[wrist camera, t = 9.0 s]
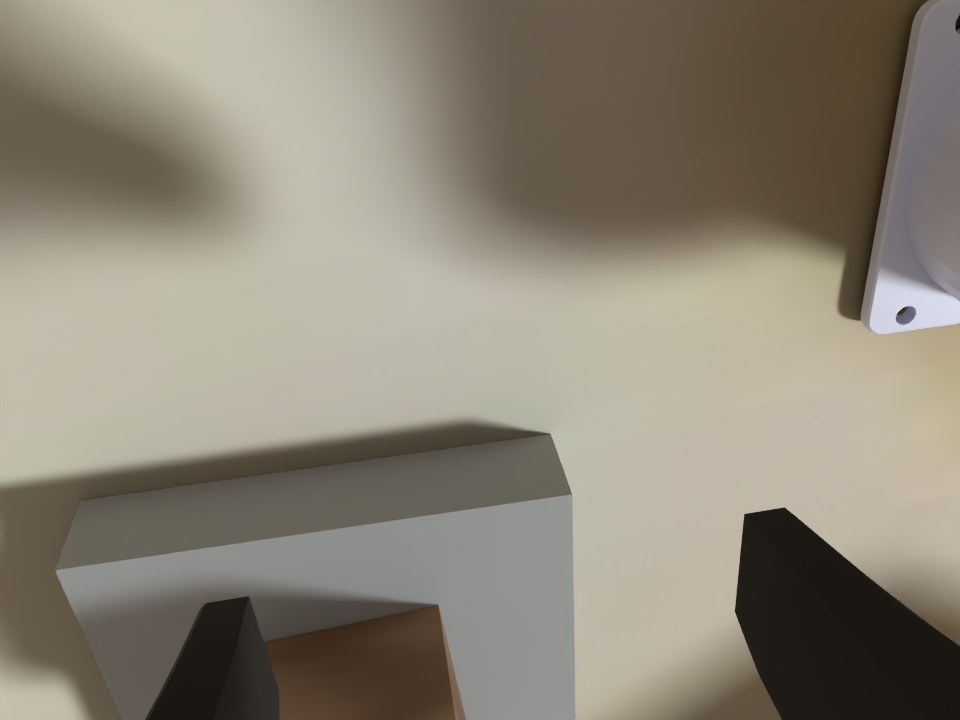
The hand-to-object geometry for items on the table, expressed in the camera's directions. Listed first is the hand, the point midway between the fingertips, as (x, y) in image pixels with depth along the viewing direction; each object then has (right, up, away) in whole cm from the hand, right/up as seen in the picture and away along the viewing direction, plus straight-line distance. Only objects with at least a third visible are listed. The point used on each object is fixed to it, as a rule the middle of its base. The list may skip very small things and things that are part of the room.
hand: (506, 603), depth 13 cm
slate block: (-4, -4, +14) cm, 15 cm away
